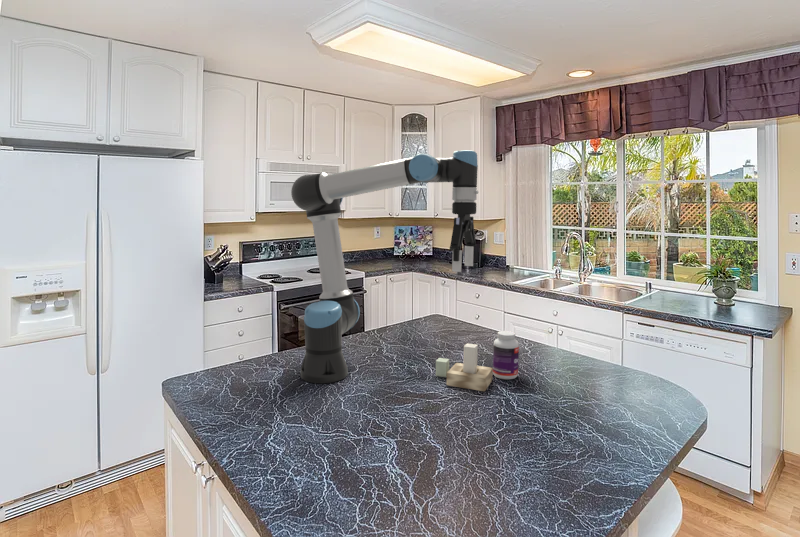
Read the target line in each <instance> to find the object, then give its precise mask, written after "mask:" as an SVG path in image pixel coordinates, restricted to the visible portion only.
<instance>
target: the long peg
mask: <svg viewBox="0 0 800 537" xmlns="http://www.w3.org/2000/svg"><path fill="white" fill-rule="evenodd" d="M478 346H479V345H478V344H476V343H474V344H473V343H468V342H467V343H466V344H464V345H463V360H462V361H463V372H465V373H472V374H476V373H477V366H478V356H479V355H478V351H479V350H478Z"/></svg>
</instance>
